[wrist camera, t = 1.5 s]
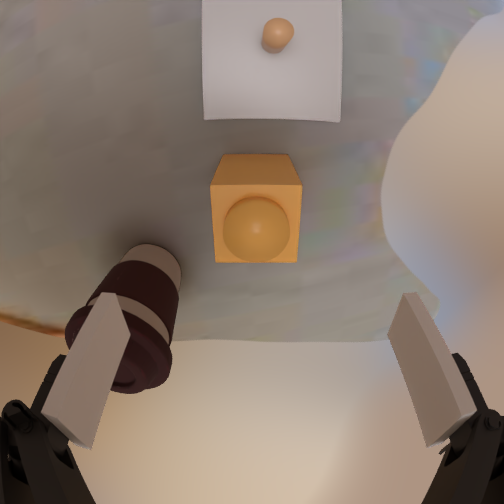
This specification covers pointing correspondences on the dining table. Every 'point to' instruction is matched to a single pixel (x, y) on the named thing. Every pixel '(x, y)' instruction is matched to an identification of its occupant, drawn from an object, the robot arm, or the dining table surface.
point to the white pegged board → (272, 59)
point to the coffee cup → (140, 315)
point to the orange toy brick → (256, 208)
